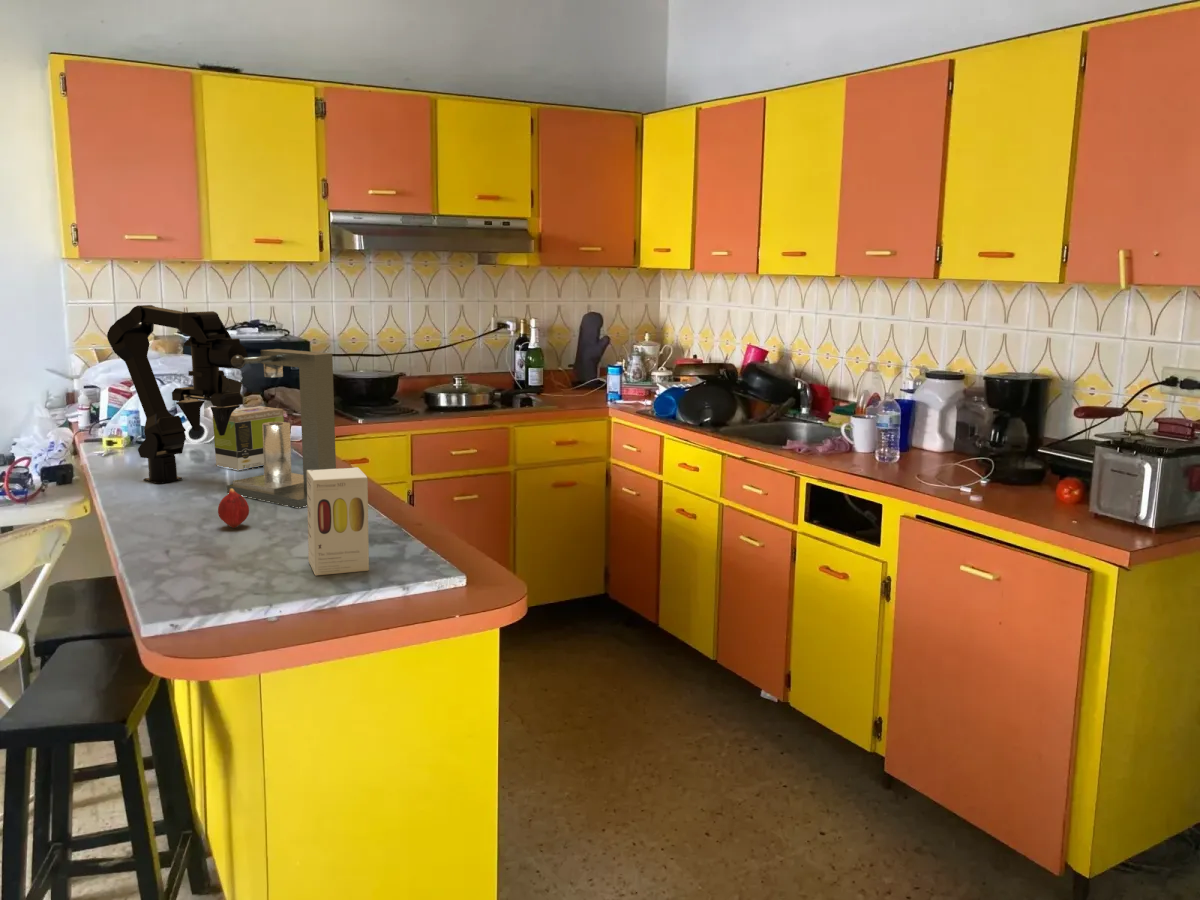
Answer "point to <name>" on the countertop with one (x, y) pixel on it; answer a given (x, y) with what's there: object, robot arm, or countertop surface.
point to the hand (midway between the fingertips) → (209, 433)
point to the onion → (233, 509)
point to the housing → (277, 451)
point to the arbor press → (313, 422)
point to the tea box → (244, 437)
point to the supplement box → (337, 520)
